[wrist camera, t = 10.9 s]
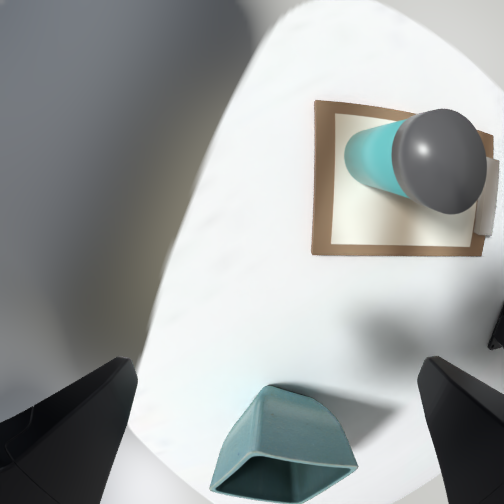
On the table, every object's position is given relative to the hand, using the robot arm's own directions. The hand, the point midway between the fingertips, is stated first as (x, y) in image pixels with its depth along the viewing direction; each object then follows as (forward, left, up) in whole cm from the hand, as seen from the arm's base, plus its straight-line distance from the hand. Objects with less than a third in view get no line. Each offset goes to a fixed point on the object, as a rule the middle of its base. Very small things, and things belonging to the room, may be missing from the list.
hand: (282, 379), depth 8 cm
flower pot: (-1, +16, -13) cm, 20 cm away
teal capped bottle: (-6, -6, -12) cm, 15 cm away
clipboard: (-10, -4, -12) cm, 17 cm away
